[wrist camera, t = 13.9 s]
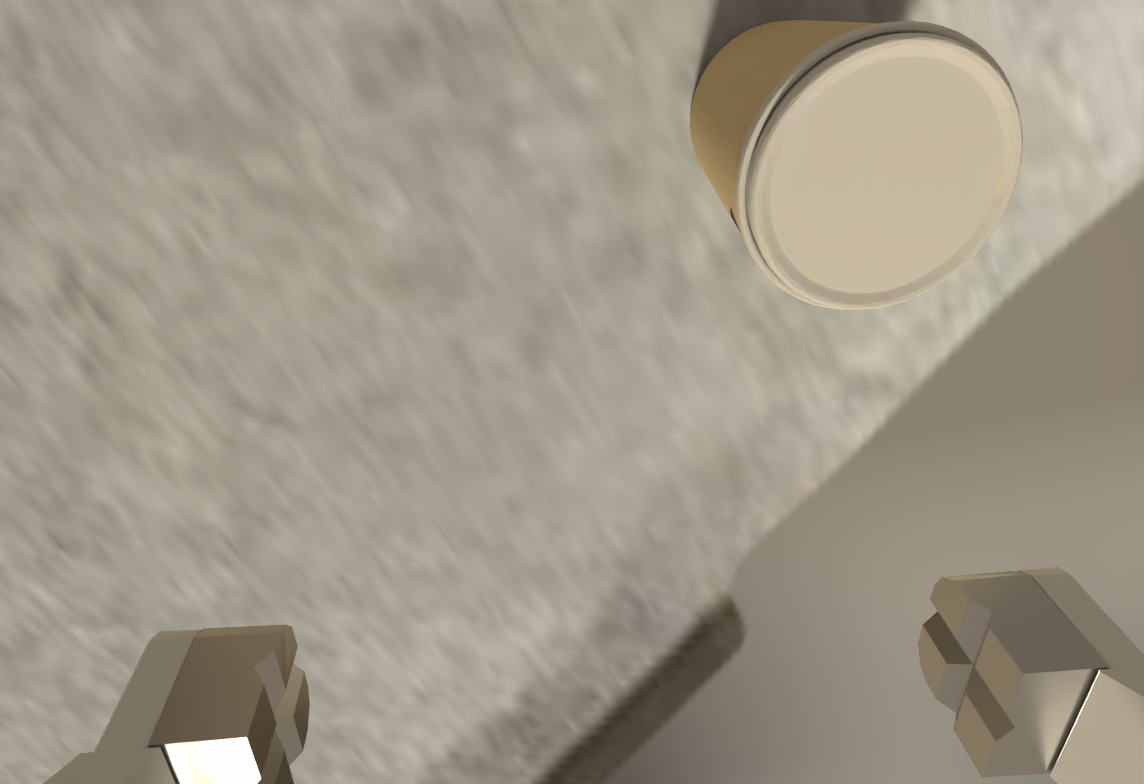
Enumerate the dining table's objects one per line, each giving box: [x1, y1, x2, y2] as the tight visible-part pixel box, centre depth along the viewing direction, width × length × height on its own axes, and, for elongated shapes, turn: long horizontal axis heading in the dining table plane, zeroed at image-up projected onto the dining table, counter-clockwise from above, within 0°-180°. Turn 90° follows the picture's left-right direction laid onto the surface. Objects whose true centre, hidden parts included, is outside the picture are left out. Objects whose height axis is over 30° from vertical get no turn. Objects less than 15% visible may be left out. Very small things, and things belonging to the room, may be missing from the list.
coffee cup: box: [690, 20, 1023, 310], centre depth 30 cm, size 9×9×12 cm
